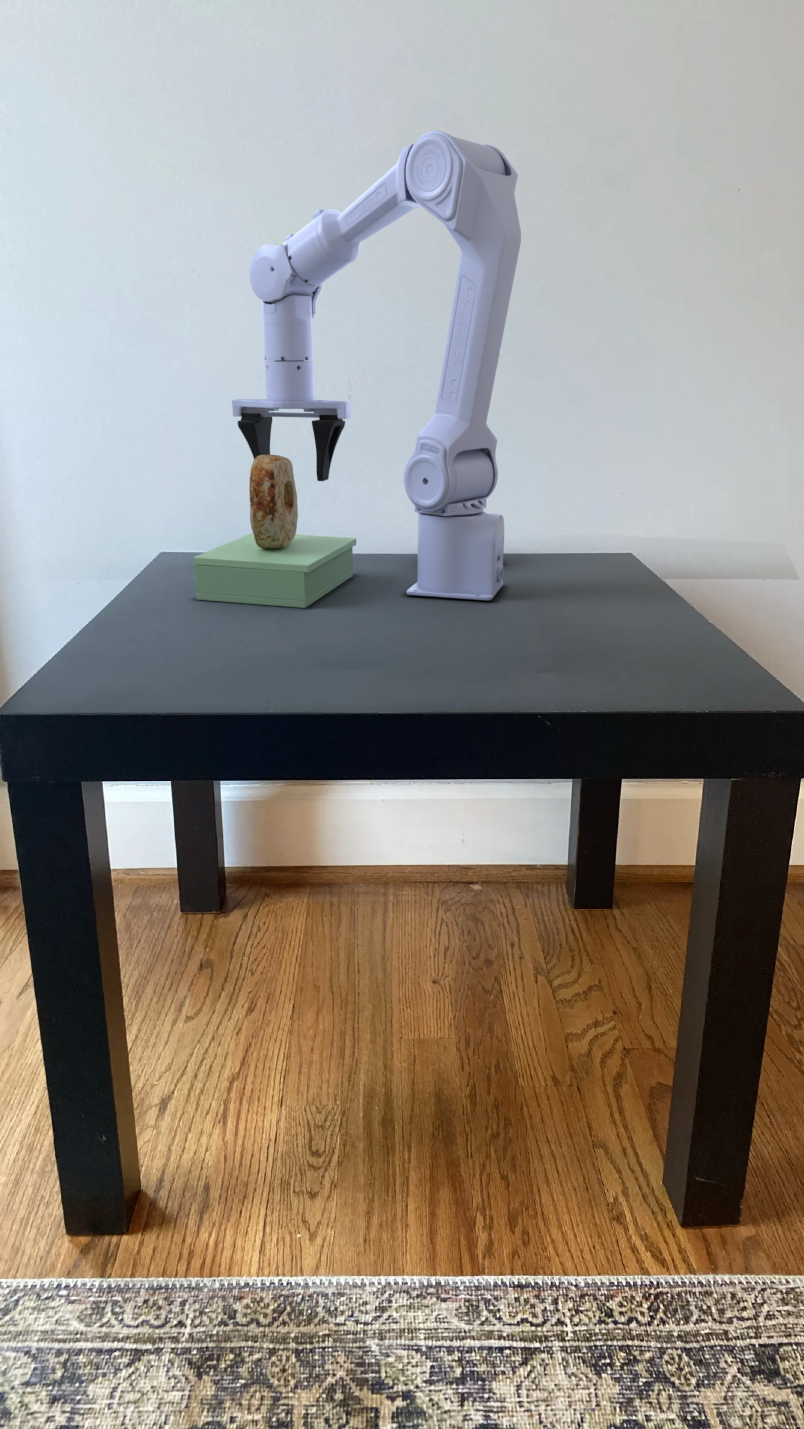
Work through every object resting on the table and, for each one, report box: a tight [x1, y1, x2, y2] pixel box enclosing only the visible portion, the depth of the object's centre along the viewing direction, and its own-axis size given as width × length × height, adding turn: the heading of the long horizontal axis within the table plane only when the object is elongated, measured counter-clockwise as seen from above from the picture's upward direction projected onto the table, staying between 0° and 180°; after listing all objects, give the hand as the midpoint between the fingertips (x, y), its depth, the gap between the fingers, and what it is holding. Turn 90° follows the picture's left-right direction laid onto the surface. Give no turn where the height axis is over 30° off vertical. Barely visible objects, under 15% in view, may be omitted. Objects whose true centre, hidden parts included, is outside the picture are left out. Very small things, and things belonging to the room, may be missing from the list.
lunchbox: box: [193, 547, 354, 609], centre depth 106 cm, size 13×16×4 cm
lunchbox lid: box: [193, 532, 357, 573], centre depth 106 cm, size 13×16×1 cm
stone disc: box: [248, 454, 299, 549], centre depth 104 cm, size 10×4×10 cm, turn 171°
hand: (293, 479), depth 116 cm, fingers open, 7 cm apart
